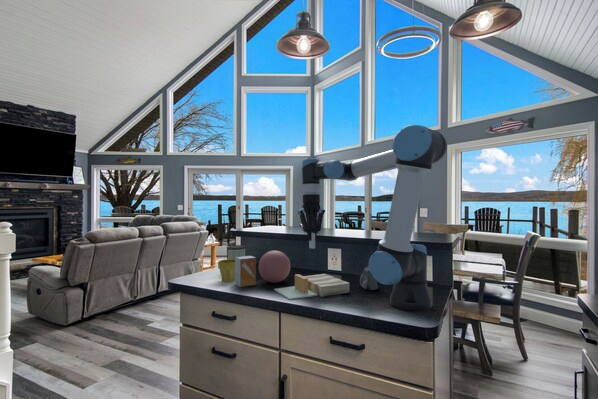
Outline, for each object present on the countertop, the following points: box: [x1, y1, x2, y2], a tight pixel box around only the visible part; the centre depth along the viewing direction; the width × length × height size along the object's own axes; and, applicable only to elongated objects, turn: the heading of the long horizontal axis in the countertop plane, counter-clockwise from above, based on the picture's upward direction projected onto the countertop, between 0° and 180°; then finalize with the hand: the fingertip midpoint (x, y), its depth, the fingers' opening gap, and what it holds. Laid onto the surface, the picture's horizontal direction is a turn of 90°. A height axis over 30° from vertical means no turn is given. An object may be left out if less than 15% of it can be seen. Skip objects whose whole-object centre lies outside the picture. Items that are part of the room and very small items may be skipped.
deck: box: [304, 273, 350, 298], centre depth 144 cm, size 20×14×4 cm
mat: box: [273, 285, 319, 301], centre depth 138 cm, size 16×13×1 cm
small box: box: [234, 255, 257, 288], centre depth 152 cm, size 8×6×13 cm
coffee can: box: [226, 244, 246, 259], centre depth 181 cm, size 10×10×14 cm
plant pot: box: [217, 258, 235, 283], centre depth 160 cm, size 10×10×10 cm
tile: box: [294, 273, 308, 293], centre depth 140 cm, size 9×6×2 cm
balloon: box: [258, 249, 291, 284], centre depth 158 cm, size 15×20×15 cm
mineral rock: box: [359, 264, 379, 291], centre depth 148 cm, size 13×11×10 cm
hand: (312, 248), depth 140 cm, fingers closed
